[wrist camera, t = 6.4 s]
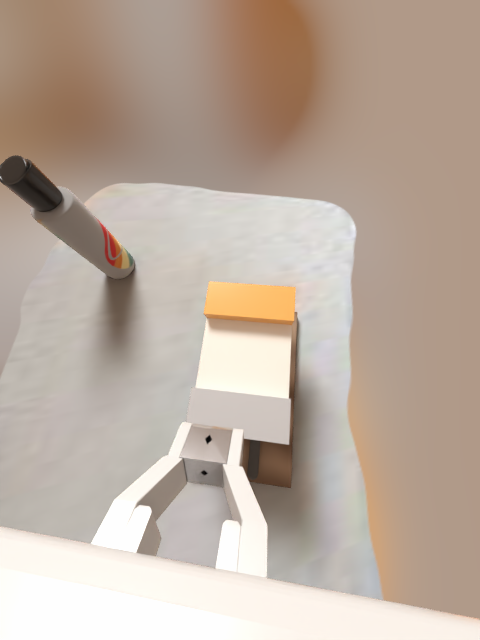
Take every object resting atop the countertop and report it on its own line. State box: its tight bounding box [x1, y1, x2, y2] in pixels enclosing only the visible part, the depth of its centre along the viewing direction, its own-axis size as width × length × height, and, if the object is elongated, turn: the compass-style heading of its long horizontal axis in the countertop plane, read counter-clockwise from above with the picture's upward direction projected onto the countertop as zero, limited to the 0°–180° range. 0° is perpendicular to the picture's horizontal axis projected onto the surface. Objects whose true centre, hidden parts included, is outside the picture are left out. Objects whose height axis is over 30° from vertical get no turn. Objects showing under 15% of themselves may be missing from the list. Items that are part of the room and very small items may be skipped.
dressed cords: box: [247, 439, 261, 480], centre depth 31 cm, size 13×5×1 cm, turn 174°
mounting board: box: [242, 312, 297, 488], centre depth 33 cm, size 24×14×2 cm, turn 174°
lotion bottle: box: [0, 156, 135, 279], centre depth 33 cm, size 6×6×20 cm
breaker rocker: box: [186, 282, 295, 445], centre depth 25 cm, size 16×10×3 cm, turn 174°
